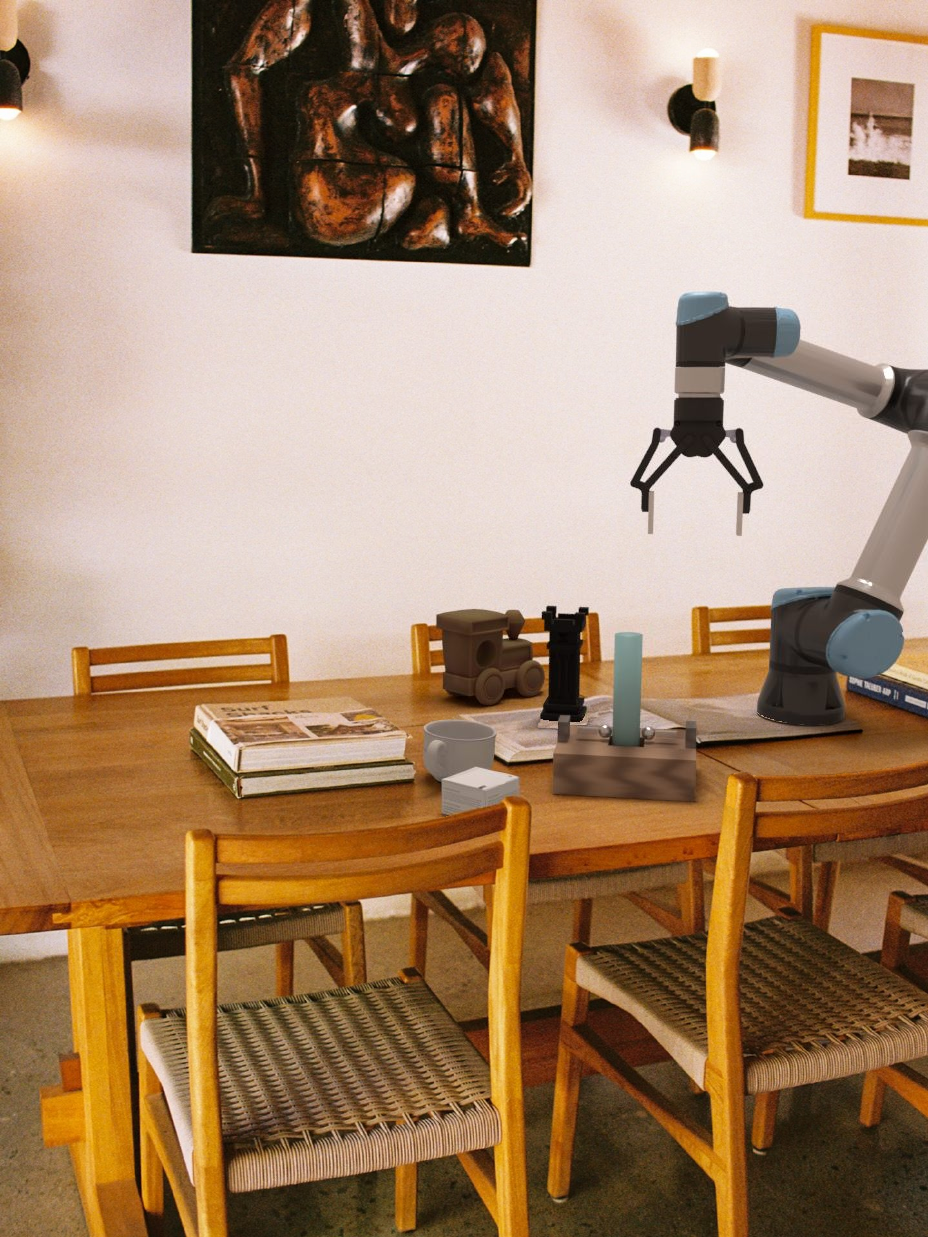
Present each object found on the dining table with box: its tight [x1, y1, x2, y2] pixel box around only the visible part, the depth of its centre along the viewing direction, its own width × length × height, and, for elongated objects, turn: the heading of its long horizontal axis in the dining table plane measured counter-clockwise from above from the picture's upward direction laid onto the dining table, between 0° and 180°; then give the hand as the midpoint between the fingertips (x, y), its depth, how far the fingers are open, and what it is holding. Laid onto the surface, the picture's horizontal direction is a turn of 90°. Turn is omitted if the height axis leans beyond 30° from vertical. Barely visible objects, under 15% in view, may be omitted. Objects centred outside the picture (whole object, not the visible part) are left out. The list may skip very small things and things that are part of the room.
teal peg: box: [612, 631, 644, 747], centre depth 183 cm, size 4×4×22 cm
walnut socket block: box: [552, 715, 698, 803], centre depth 184 cm, size 20×16×9 cm
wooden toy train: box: [435, 608, 545, 707], centre depth 234 cm, size 20×11×17 cm, turn 131°
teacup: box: [422, 719, 498, 783], centre depth 184 cm, size 14×11×8 cm
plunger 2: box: [642, 725, 677, 740], centre depth 183 cm, size 5×2×2 cm, turn 80°
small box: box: [441, 767, 520, 816], centre depth 171 cm, size 8×8×5 cm
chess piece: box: [539, 605, 590, 722], centre depth 215 cm, size 8×8×20 cm
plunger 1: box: [577, 723, 612, 738], centre depth 184 cm, size 5×2×2 cm, turn 80°
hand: (694, 534), depth 196 cm, fingers open, 13 cm apart
